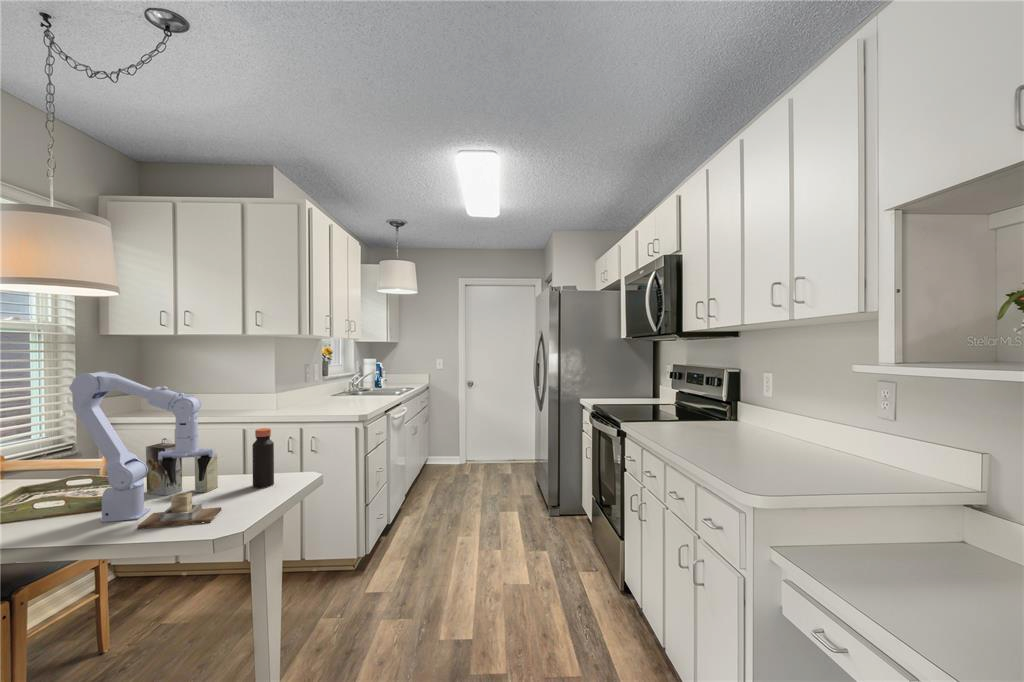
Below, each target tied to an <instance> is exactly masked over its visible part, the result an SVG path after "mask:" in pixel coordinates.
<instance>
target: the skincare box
mask: <svg viewBox="0 0 1024 682" xmlns="http://www.w3.org/2000/svg"><path fill="white" fill-rule="evenodd" d="M199 458H201V457H194V492H195V493H208V492H211V491H213V490H215V489H217V488H218V487H219V486H218V485H219V484H218V483H219V482H218V481H219V480H218V476H219V475H218V453H217V452H215V455H214V456H213V457H212V458H211V460H210V462H209V464H208V466H207V469H206V472H205V475H204V480H202V481H199V466H198V461H197V459H199ZM216 487H217V488H216ZM214 488H215V489H214ZM212 489H213V490H212ZM210 490H211V491H210Z"/></svg>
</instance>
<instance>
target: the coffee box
mask: <svg viewBox="0 0 1024 682" xmlns="http://www.w3.org/2000/svg"><path fill="white" fill-rule="evenodd" d="M174 450H176V443H168V442H167V443H166V442H161V443H154V444H151V445H148V446H145V458H146V459H145V464H146V465H147V467H148V472H147V474H146V494H147V495H148V494H149V495H158V496H164V497H165V496H170V495H172V494H177V493H178V492H181V491H182V492H183V461H182V460H183V458H177V460H176V481H175V482H173V483H170V480H169V477H168V474H167V472H166V470H165V468H164V467H163V466H162V464H161V461H162V460H163V459H158V453H160V452H164V451H174Z"/></svg>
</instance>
